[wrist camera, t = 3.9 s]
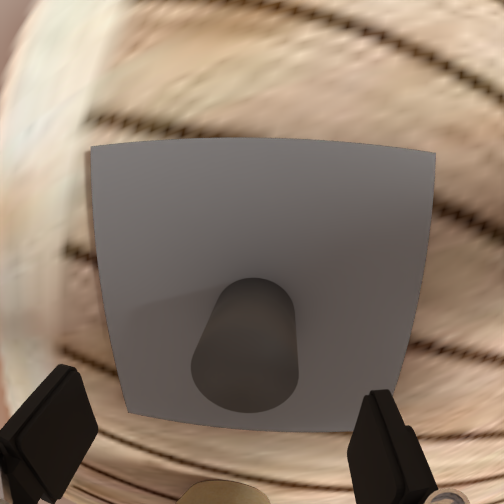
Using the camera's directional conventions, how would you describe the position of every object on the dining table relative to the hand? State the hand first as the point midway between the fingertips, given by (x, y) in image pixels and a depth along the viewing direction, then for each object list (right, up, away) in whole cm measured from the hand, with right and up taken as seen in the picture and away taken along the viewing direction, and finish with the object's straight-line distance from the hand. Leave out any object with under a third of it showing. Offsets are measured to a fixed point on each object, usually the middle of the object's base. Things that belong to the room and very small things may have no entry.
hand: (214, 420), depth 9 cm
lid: (+1, +3, +8) cm, 9 cm away
